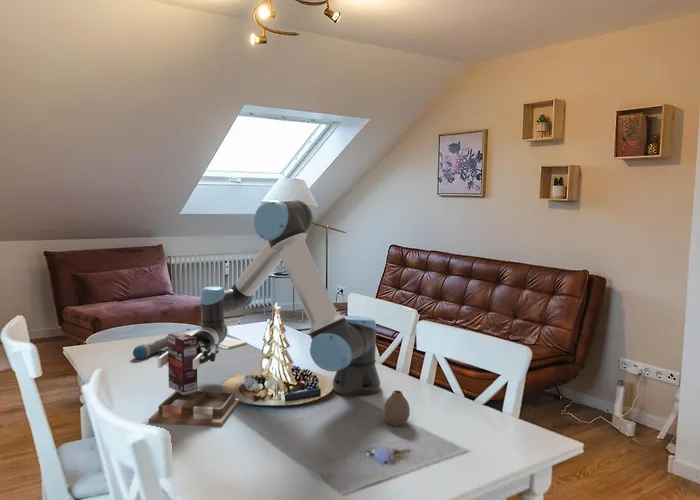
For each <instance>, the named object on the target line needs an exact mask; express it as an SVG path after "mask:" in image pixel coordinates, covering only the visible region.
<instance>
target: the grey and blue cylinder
mask: <svg viewBox="0 0 700 500" xmlns="http://www.w3.org/2000/svg"><path fill="white" fill-rule="evenodd" d="M166 347H168V335H167V336H166V337H164V338H160V339H158V340H155V341H153V342H150V343H147V344H145V343H143V344H140V345H137V346H136V347H134V349H133V351H132V356H133V358H135V359H137V360H143V359H145V358H146V359H147V358H148V357H150V355H153V354H156V353H159V350H161V349H163V348H166Z"/></svg>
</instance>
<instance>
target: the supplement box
mask: <svg viewBox="0 0 700 500" xmlns="http://www.w3.org/2000/svg"><path fill="white" fill-rule="evenodd" d="M167 336H168V388H170V389H172V390H174V392H175V391H177V392H179V393H181V394H182V395H186V394H189V393H193V392H197V391H198V368H196V369H193V359H194V358H195V357H197V338H196V337H193V336H191V335H188V334H186V332H184V331H183V332H182V331H178V332H173V333H168V334H167Z"/></svg>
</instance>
